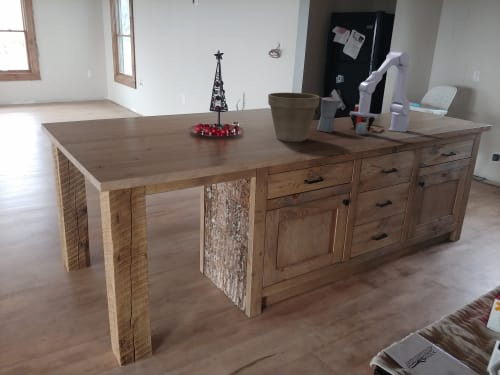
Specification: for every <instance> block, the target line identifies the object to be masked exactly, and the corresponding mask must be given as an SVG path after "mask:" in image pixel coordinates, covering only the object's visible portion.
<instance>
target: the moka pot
mask: <svg viewBox="0 0 500 375" xmlns="http://www.w3.org/2000/svg"><path fill="white" fill-rule="evenodd" d="M328 96H329V97H320V96H319V102H320V112H318V111H317V109H316V111H315V114H316V115H320V118H319V120H318V125H317V128H316V129H317V131H319V132H325V133H333V132H334V131H335V130H334V128H335V127H334V126H335V115H336V113H337V110H338V108H339V106H340V105H341V103H343V101H342V100H339V99H337V98H334V97H333V94H329V95H328Z"/></svg>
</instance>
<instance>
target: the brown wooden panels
mask: <svg viewBox="0 0 500 375" xmlns="http://www.w3.org/2000/svg"><path fill="white" fill-rule="evenodd" d="M356 128H357V124H356ZM350 130H355V131H356V129H353V125H352V126H350ZM367 130H368V125H367ZM370 130H371V133H376V134H379V133H381V132H382V131H384V127H378V126H372V125H371V128H370Z"/></svg>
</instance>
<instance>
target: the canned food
mask: <svg viewBox="0 0 500 375" xmlns="http://www.w3.org/2000/svg"><path fill="white" fill-rule="evenodd" d="M358 110H359V104H355V106H354V112H358ZM363 116H365V115H363ZM358 122H362V123H367V124H368V117H362V116H358V117H357V122H356V124H357V123H358Z"/></svg>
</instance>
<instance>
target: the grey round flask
mask: <svg viewBox="0 0 500 375" xmlns="http://www.w3.org/2000/svg"><path fill="white" fill-rule="evenodd" d="M367 126H368V122H367V123H362V122H358V123H357V128H356V130H355V134H357V135H367V134H368V133H367V132H368V131H367V130H368V129H367Z"/></svg>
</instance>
